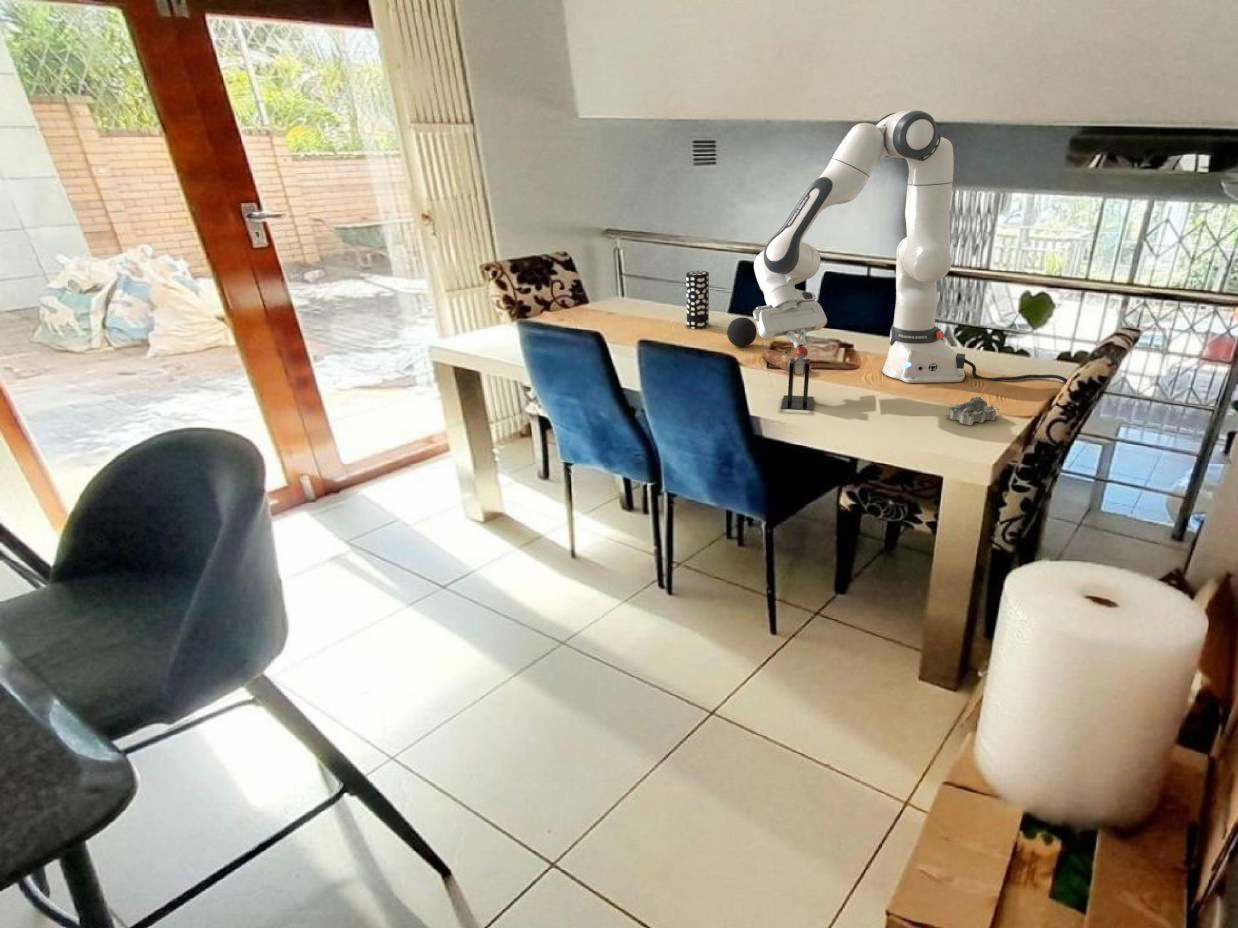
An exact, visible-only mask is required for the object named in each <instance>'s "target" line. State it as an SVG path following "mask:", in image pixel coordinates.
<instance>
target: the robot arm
mask: <svg viewBox="0 0 1238 928" xmlns="http://www.w3.org/2000/svg"><path fill="white" fill-rule="evenodd" d="M885 157H886V158H893V159H905V160H906V163H907V166H908V177H907V185H906V187H907V188H906V197H905V198H906V199H905V210H904V217H905V225H906V226H905V227H906V237H904V238H903V239H902V240H901V241H899V244H898V246H897V248H896V253H895V257H896V259H895V260H896V263H895V290H896V291H895V295H896V296H895V308H894V317H893V323H892V324H891V328H890V332H889V340H888V341H889V350H888V352H887V356H886V359H885V363H884V365H883V367H882V369H881V372H882V374H883V375H885V376H887V377H890V378H892V379H896V380H900V381H902V382H905V383H907V384H919V383H921V384H923V383H924V384H925V383H928V384H931V383H960V382H963V381H964V380H965V377H966V374H965V371H964V369H965V364H967V365H968V366H970V367H971V370H972V371H971V375H972V376H973V377H974V378H975V379H978V380H986V381H992V382H993V381H994V382H995V381H996V382H998V381H1018V380H1024V379H1025V380H1026V379H1057V380H1060V381H1062V382H1064V383H1065V384H1066V382H1067V380H1068V379H1067V378H1066V377H1065V376H1062V375H1058V374H1024V375H1018V376H1017V375H1016V376H996V377H983V376H980V375H979V374H977V366H976V365H975V363H973V362H971V360H968V359H966V353H960V352H959V353H958V352H957V353H956V352H955V351H954V350H953V349H952V348H951V347H950V346H948V345H947V344H946V343H945V342H943V341H942V340H943V338H944V337H945V332H944V331H943V330H942V329H941V328H939V327H938V326H936V325H935V323H936V317H937V311H938V303H939V296H938V288H937V287H938V286H937V285H938V283H937V282H938V281H941V280H942V279H943V278H945V277H946V276H947V275H948V273H949V272H950V270H951V267H952V264H953V263H952V262H953V261H952V254H951V253H952V252H951V225H950V214H951V213H950V211H951V210H950V209H951V201H952V194H953V193H952V192H953V181H954V171H955V170H954V169H955V167H954V166H955V160H954V159H955V157H954V146H953V144H952V142H951V141H950V140H949V139H947V138H946V137H942V136H941V135H940V133H939V129H938V125H937V122H936V120H935V119H934V117H933V116H932V115H931V114H929V113H927V112H925V111H923V110H901V111H899V112H892V113H889V114H886V115H884V116H883V117H882V118H881V119H879V120H878V121H876V122H875V123H874V124H872V123H869V122H861V123H857V124H855V125H854V126H852V128H851V129H850V130H849V131H848V132H847V134H846V135H845V137H843V139H842V141H841V142H840V143H839V145H838V146H837V148H836V150H835V152H834V154H833V155H832V157H831V159H830V161H829V163H828V164H827V166H826V167H825V169H824V170H823V172H822V173H821V174H820V176H819V177H818V178H817V179H815V180H814V181H813V182H812V183H811V184H810V185H809V187H808V188H807V189H806V190H805V192H804V193H803V195H802V196H801V198H800V199H799V200H798V202H797V203H796V205H795V206H794V208H793V210H792V211H791V212H790V214H789V216H788V217H787V219H786V220H785V222H784V223H783V224H782V226H781V228H780V229H779V230H778V231H777V232H776V233H775V234H774V235H773V236H772V237H771V238H770V239H769V240H768V241H767V243H766V245H765V246H764V247H765V248H764V250H762V251H760V253H759V254H758V255H757V256H756V257H755V259H754V262H753V270H754V274H755V278H756V281H757V284H758V286H759V289H760V291H762V293H763V297H764V301H765V304H766V305H763V306H757V307H755V309H753V311H752V314H753V317H754V320H755V322H756V329H757V332H758V334H759V336H760V337H761V338H762V339H764V340H765V339H766V340H767V339H771V338H778V337H786V339H787V340H788V341H790V342H791V343H792V344H793V347H794V348H795V349H798V348H799V347H806V345H807V343H808V342H807V340H806V335H807V333H809V332H810V333H811V332H816V331H820V330H822V329H824V327H825V326H826V325H827V323H828V319H827V316H826V314H825V312H824V311H825V310H823V307H822V305H821V303H819V302H818V301H816V299H817V295H816V294H815V293H814V292H810V291H806V290H801V289H798V288H796V287H795V285H798V284H801V283H803V282H806V281H808V280H809V279H811V278H813V277H814V276H815V275H816V274H817V272H818V271H819V269H820V266H821V261H822V259H821V254H820V252H819V250H818V249H817V248H815V247H814V246H812V245H810V244H808V243H806V242H803V240H804V239H803V238H804V237H805V235H806V234H807V232H808V231H809V229H810V228H811V226H812V225H813V224H814V222H815V220H816V219H817V218H818V216H819V215H820V213H821V212H823V211H824V210H825V209H827V208H828V207H831V206H834V205H842V204H847V203H849V202H852V201H854V200H855V199H857V198H858V196H859V195H860V193H862V191H863V190H864V188H865V186H866V185H867V182H868V181H869V179H870V177H871V175H872V174H873V172H874V170H875V167H876V166H877V165H878V164H879V162H881V160H882V159H884V158H885ZM796 335H797V336H798V337H799V338H797V337H796Z"/></svg>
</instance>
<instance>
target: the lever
mask: <svg viewBox="0 0 1238 928" xmlns="http://www.w3.org/2000/svg"><path fill="white" fill-rule="evenodd" d="M808 354H809V351H808V349H807V348H806V346H804V347H798V348H796V351H795V356H797V357H798V358H799V360H798V361H796V364H795V374H794V375H797V374H798V375H804V374H805V370H804V361H803V359H806V358H807V357H808V356H809V355H808Z"/></svg>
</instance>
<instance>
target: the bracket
mask: <svg viewBox="0 0 1238 928" xmlns="http://www.w3.org/2000/svg"><path fill="white" fill-rule="evenodd" d="M805 360H806V364H805V370H804V378H803V379H804V381H803V384H804V385H803V395H793V394H794V377H795V374H794V361H795V358H791V360H790V364H788V370H789V372H788V386H787V395H786V394H784V395H783V397H782V401H781V406H780V410H791V411H793V410H795V411H810V412H811V411H813V405H814V399H815V398H814V396H811V395H809V383H810V382H809V381H810V372H811V371H812V367H813V365H812V364H811V358H805Z"/></svg>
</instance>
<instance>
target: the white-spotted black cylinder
mask: <svg viewBox="0 0 1238 928" xmlns="http://www.w3.org/2000/svg"><path fill="white" fill-rule="evenodd" d="M685 275H686V276H685V277H686V278H685V279H686V283H685V284H686V285H685V286H686V327H687V328H688V329H693V330H701V329H706V328H709V326H710V325H709V321H710V315H709V313H710V312H709V311H710V310H709V309H710V307H709V305H710V302H709V301H710V297H709V296H710V293H709V292H710V289H709V288H710V272H709V271H707V270H693V271H688V272H686V273H685Z"/></svg>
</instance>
